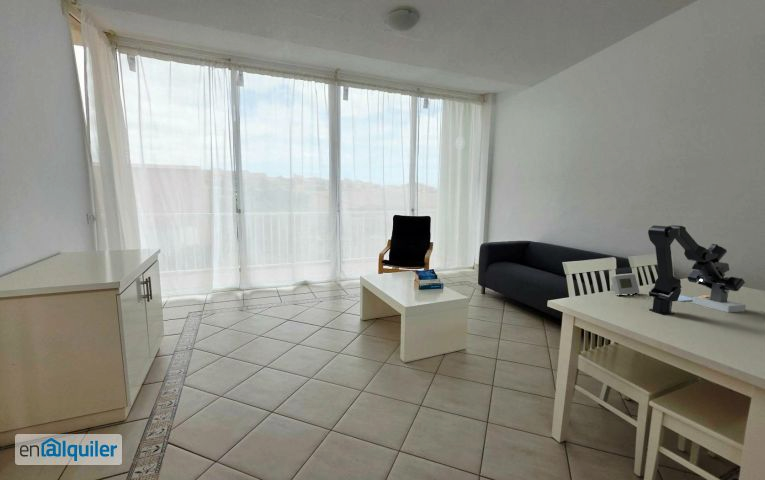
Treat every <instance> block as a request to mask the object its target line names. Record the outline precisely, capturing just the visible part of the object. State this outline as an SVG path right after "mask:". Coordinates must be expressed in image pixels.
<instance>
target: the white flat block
mask: <svg viewBox="0 0 765 480" xmlns="http://www.w3.org/2000/svg"><path fill="white" fill-rule="evenodd" d="M710 296H711V295H706V294H705V295H704V294H703V295H698V296H693V297H692V298H693V301H691V302H692V304H696V305H700V306H703V307H706V308H710V309H714V310H717V311H722V312H724V313H736V312H737V313H738V312H739V313H741V312H745V311H746V306H747V305H746V304H745V303H741V302H736V301H732V300H728V299H727V302H725V303H720V302H716V301H712V300H710Z"/></svg>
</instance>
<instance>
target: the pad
mask: <svg viewBox="0 0 765 480" xmlns="http://www.w3.org/2000/svg"><path fill="white" fill-rule="evenodd" d="M662 295H664V294H662ZM665 296H668V295H665ZM680 301H681V303H682V301H683V302H693V297H689V296H686V295H683V294H680V295H679V298H678V300H677V301H676V302H680Z"/></svg>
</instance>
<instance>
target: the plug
mask: <svg viewBox="0 0 765 480" xmlns="http://www.w3.org/2000/svg"><path fill="white" fill-rule="evenodd" d="M722 278H725V276H724V277H723V276H722ZM721 285H722V284H717V283H716V284H713V283H712V288H711V289H710V295H709V296H710V300H712V301H716V302H720V303H725V302H727V300H728V297H729V293H728V294H726V293H725V292H723V291H722V290H721V289H719V288H720V286H721Z"/></svg>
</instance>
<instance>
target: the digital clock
mask: <svg viewBox="0 0 765 480" xmlns="http://www.w3.org/2000/svg"><path fill="white" fill-rule="evenodd" d="M610 279H611V287H610V292H611V291H614V292H615V294H619V295H622V294H634V295H636V294H635V293H638V294H639V293H640V288H639V285H638V280H637V277H636V275H635V273H619V274H613V275H611V276H610ZM615 294H614V295H615Z"/></svg>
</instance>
